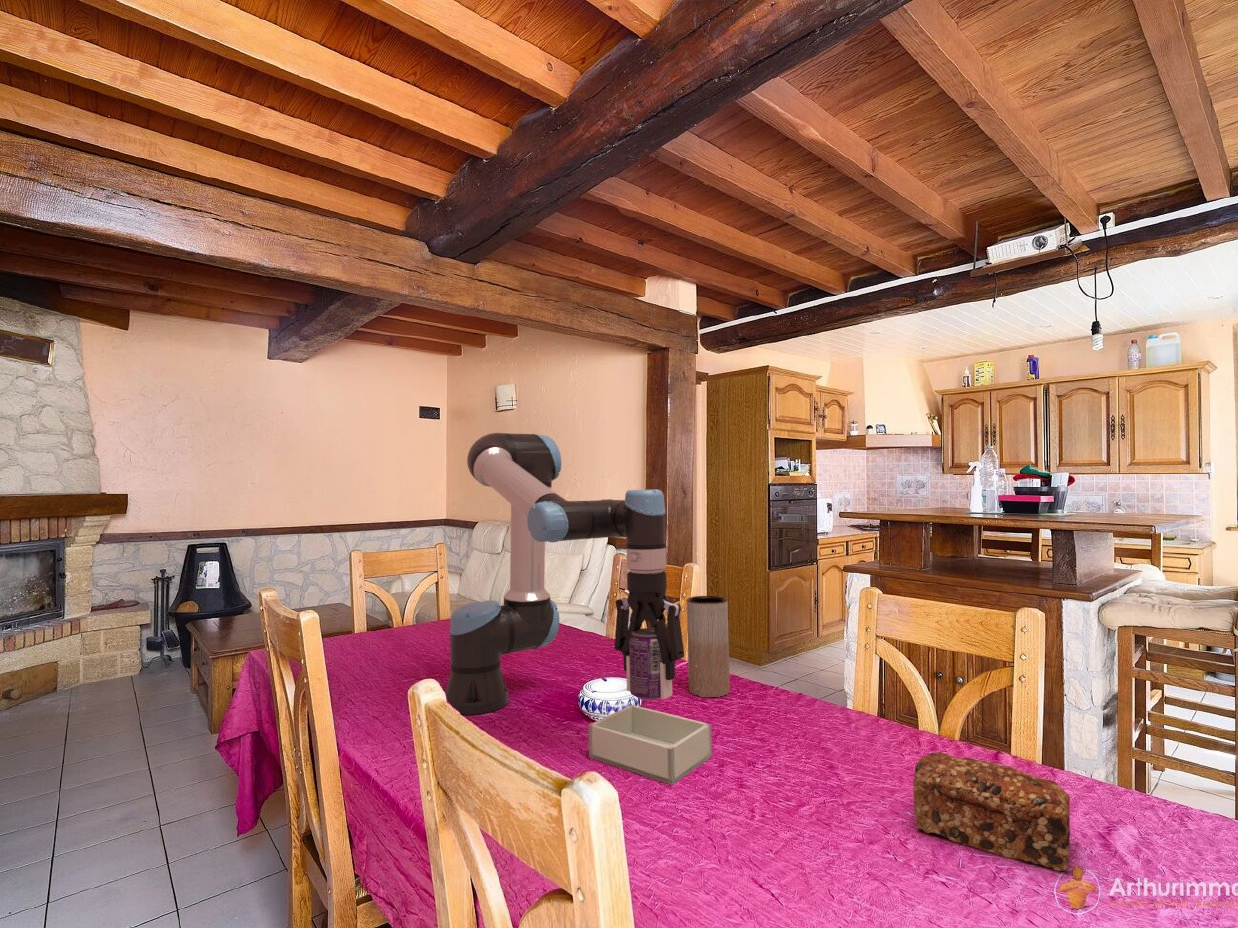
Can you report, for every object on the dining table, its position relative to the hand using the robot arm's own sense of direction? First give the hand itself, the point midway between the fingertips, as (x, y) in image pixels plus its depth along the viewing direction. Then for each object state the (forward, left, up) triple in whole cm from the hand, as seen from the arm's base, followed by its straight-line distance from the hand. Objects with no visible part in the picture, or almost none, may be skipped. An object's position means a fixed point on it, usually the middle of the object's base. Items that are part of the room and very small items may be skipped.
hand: (649, 692), depth 117 cm
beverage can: (0, 0, -1) cm, 1 cm away
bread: (+54, +7, -12) cm, 56 cm away
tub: (0, 0, -12) cm, 12 cm away
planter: (-10, +39, -12) cm, 42 cm away
